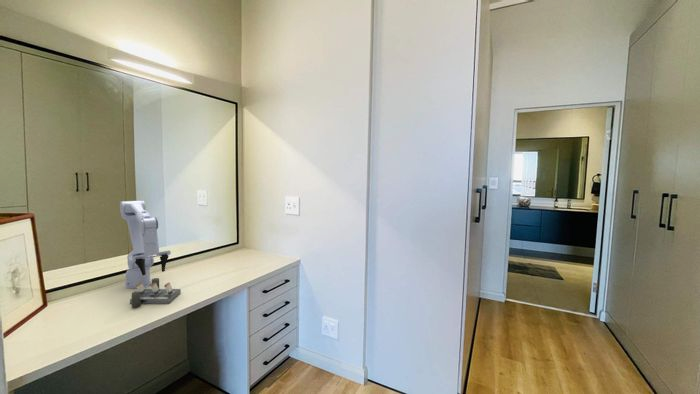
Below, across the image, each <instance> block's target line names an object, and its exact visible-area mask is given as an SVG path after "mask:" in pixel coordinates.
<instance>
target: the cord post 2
mask: <svg viewBox="0 0 700 394" xmlns="http://www.w3.org/2000/svg"><path fill="white" fill-rule="evenodd" d="M151 281H152V284H153V283H155V282H156V284H157V286H158V288H159V289H160V278H159V277H156V278H152V279H151Z"/></svg>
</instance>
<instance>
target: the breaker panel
mask: <svg viewBox="0 0 700 394" xmlns="http://www.w3.org/2000/svg"><path fill="white" fill-rule="evenodd" d="M172 289H173V291H172V292H171V293H170V294H168V293H167V291H166V289H165V288H159V291H158V292H157V293H156V294H154V293H153V291H152V289H151V288H145V291H144V292H143V293H141V294H140V304H141V305H169V304H170V303H171V302H173V300H175V299H176V298H177V297H178V296H179V295H181V292H182V291H181V288H172ZM129 304H130V305H132V297H131V298H130V299H129Z"/></svg>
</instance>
